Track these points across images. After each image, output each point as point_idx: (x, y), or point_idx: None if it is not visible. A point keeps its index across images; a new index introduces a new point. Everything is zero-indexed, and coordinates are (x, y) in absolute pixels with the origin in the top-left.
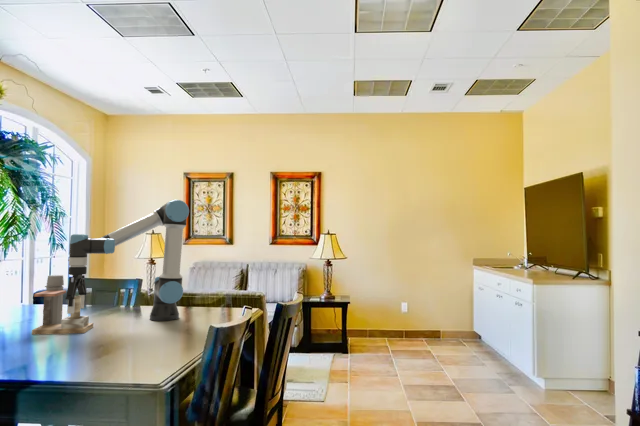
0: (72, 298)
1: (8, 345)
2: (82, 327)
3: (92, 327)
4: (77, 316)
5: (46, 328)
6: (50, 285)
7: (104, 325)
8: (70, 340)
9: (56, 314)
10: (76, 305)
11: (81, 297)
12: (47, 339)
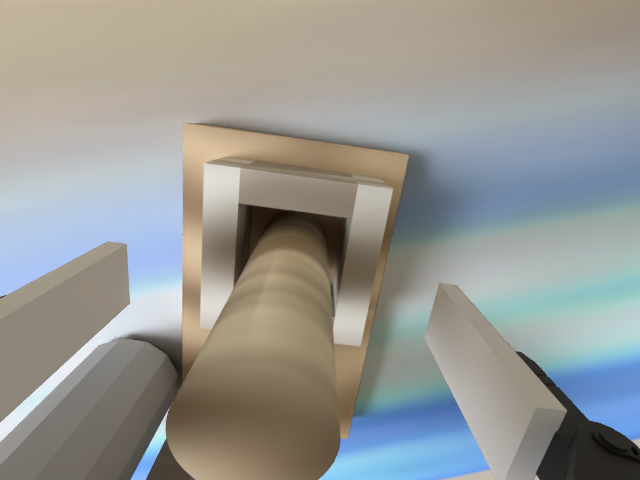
0: (625, 451)
1: None
2: (379, 177)
3: (215, 126)
4: (321, 250)
5: None
6: None
7: (137, 37)
8: (604, 202)
9: (128, 419)
10: (331, 320)
11: (12, 354)
12: (507, 327)
